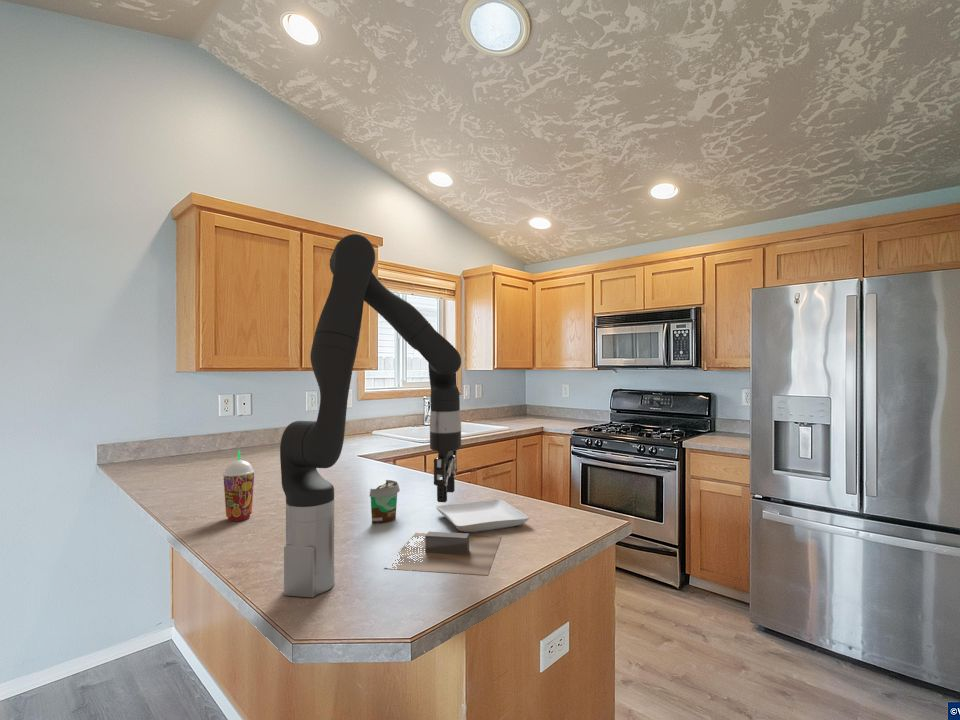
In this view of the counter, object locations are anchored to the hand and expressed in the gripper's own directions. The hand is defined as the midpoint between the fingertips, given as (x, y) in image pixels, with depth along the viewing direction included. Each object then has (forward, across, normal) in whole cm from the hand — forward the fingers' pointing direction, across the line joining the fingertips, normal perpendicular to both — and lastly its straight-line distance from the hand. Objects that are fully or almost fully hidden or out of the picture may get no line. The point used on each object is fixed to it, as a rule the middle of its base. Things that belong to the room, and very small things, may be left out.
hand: (446, 496), depth 115 cm
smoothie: (+13, +16, +66) cm, 70 cm away
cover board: (+14, -1, 0) cm, 14 cm away
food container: (+14, +22, +22) cm, 34 cm away
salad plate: (+14, +23, -5) cm, 27 cm away
